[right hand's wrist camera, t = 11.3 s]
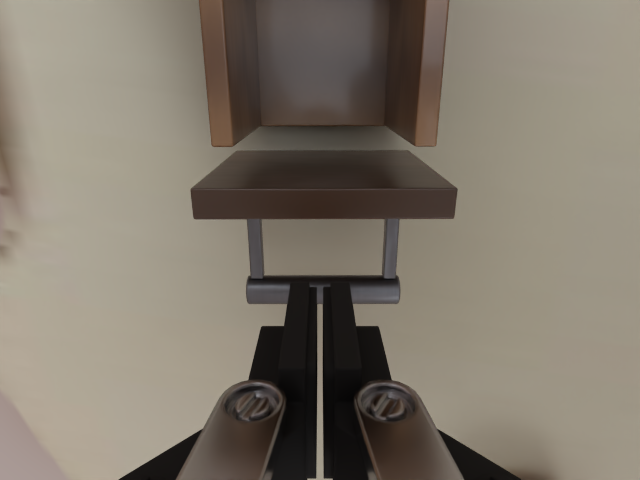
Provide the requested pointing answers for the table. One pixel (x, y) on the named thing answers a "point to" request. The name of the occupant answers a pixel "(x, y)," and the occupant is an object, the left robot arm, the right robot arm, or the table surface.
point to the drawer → (323, 122)
